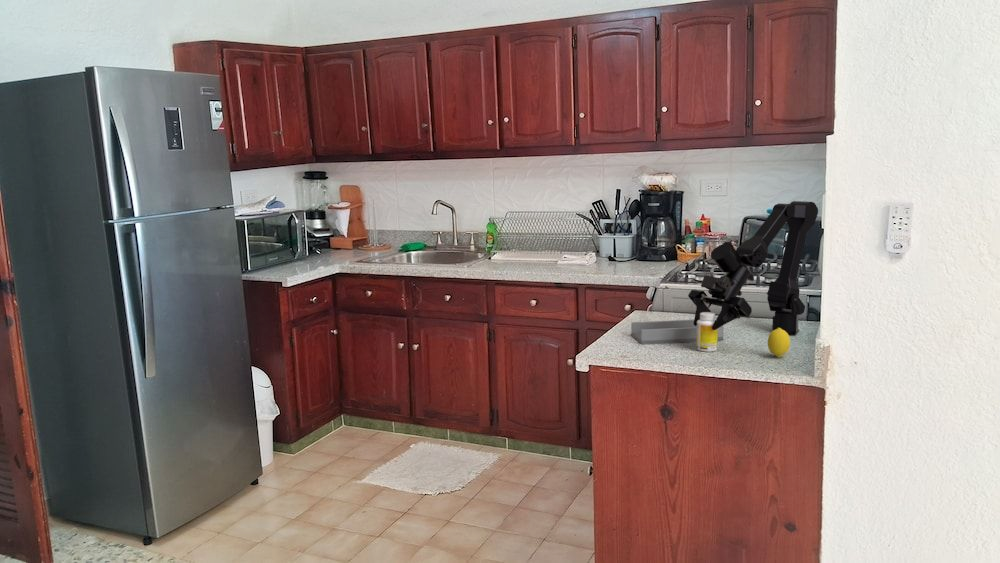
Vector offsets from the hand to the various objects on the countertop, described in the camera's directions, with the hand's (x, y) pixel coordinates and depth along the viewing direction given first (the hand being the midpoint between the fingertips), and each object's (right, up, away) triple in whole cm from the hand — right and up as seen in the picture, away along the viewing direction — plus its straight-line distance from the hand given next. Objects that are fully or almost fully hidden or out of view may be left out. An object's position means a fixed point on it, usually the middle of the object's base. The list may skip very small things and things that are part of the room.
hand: (703, 327), depth 214 cm
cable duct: (-4, -4, +16) cm, 17 cm away
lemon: (+18, -8, -8) cm, 21 cm away
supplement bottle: (+1, -7, +2) cm, 7 cm away
